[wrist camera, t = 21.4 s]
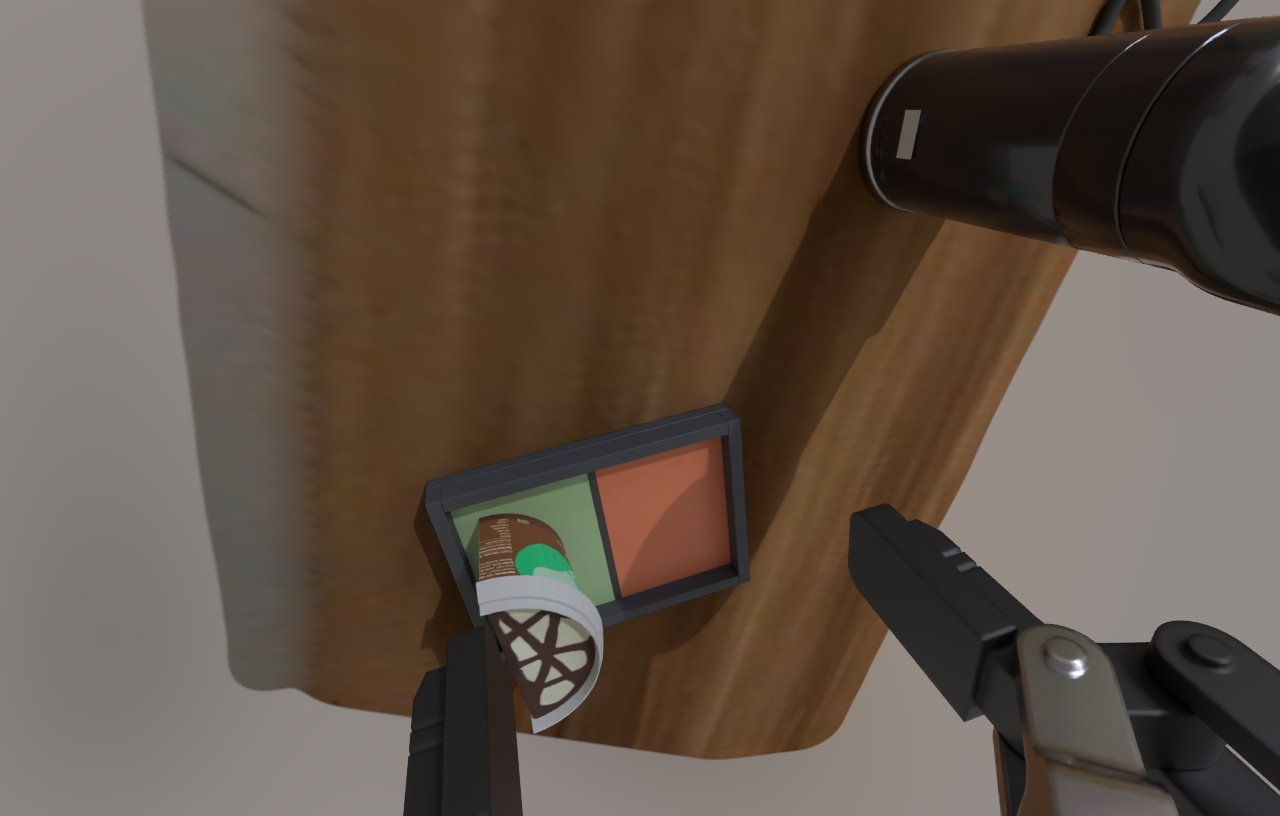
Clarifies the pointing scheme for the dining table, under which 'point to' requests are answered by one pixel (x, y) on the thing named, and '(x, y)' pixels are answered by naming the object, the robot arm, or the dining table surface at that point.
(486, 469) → the sorting tray
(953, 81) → the robot arm
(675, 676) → the dining table surface
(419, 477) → the dining table surface
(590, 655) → the food container
